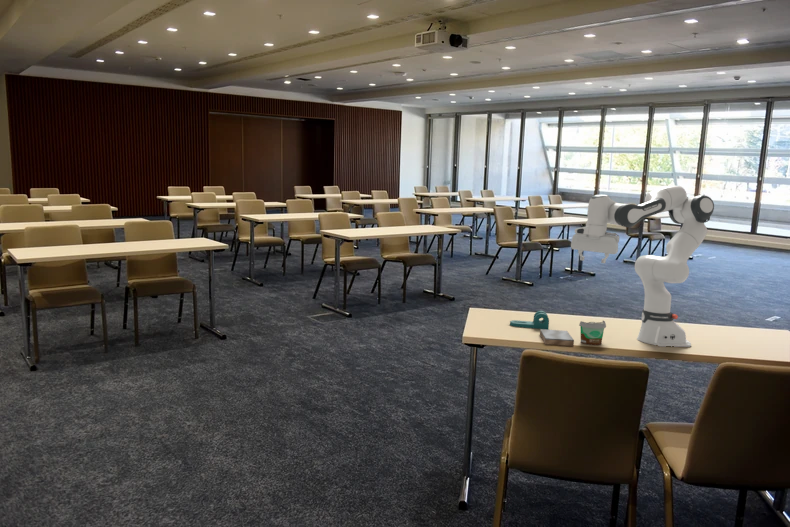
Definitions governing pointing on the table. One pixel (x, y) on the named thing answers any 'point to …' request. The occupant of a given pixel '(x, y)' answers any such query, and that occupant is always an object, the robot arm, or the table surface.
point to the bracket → (535, 324)
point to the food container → (592, 332)
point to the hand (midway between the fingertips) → (592, 261)
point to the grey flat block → (556, 337)
